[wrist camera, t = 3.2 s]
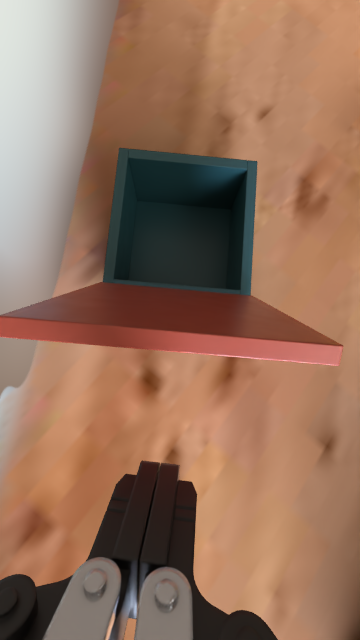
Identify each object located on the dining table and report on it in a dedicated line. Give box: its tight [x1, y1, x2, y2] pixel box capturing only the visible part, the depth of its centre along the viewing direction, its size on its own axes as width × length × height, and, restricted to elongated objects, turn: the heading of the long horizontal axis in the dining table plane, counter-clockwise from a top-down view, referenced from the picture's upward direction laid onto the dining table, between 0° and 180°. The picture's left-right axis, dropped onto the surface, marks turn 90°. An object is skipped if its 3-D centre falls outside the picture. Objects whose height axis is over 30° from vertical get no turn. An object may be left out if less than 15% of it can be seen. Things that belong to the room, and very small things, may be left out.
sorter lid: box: [0, 282, 343, 366], centre depth 19 cm, size 15×14×1 cm
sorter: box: [103, 148, 257, 295], centre depth 33 cm, size 14×14×9 cm
